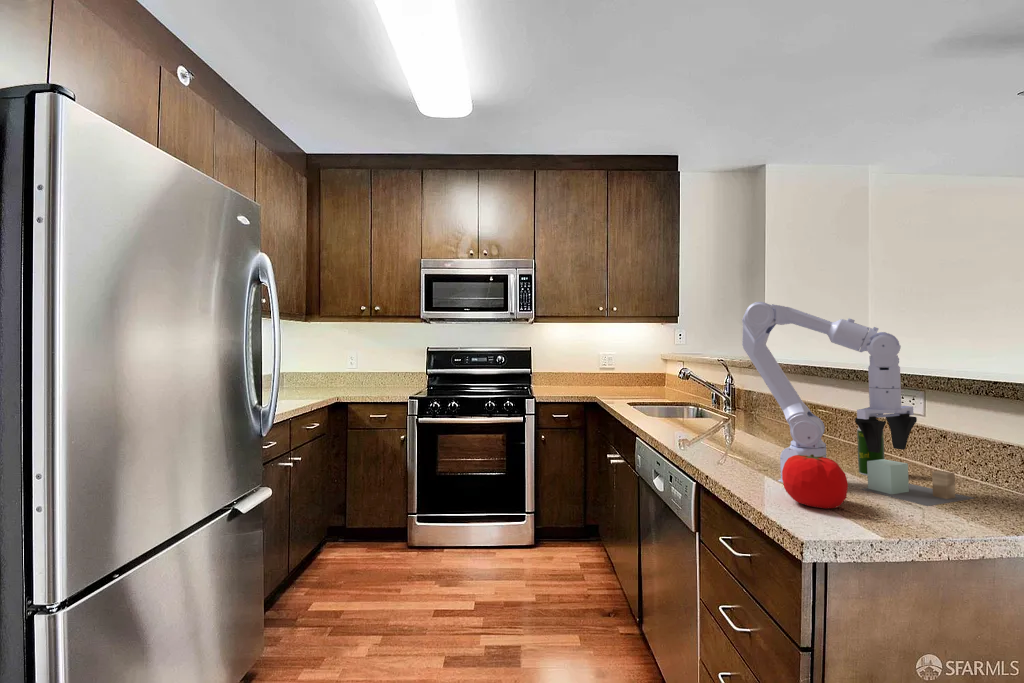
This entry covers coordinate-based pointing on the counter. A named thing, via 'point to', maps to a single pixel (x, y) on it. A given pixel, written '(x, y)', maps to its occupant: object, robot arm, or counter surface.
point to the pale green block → (888, 476)
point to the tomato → (815, 481)
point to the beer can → (867, 452)
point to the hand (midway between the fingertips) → (886, 450)
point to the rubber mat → (921, 496)
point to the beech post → (943, 484)
